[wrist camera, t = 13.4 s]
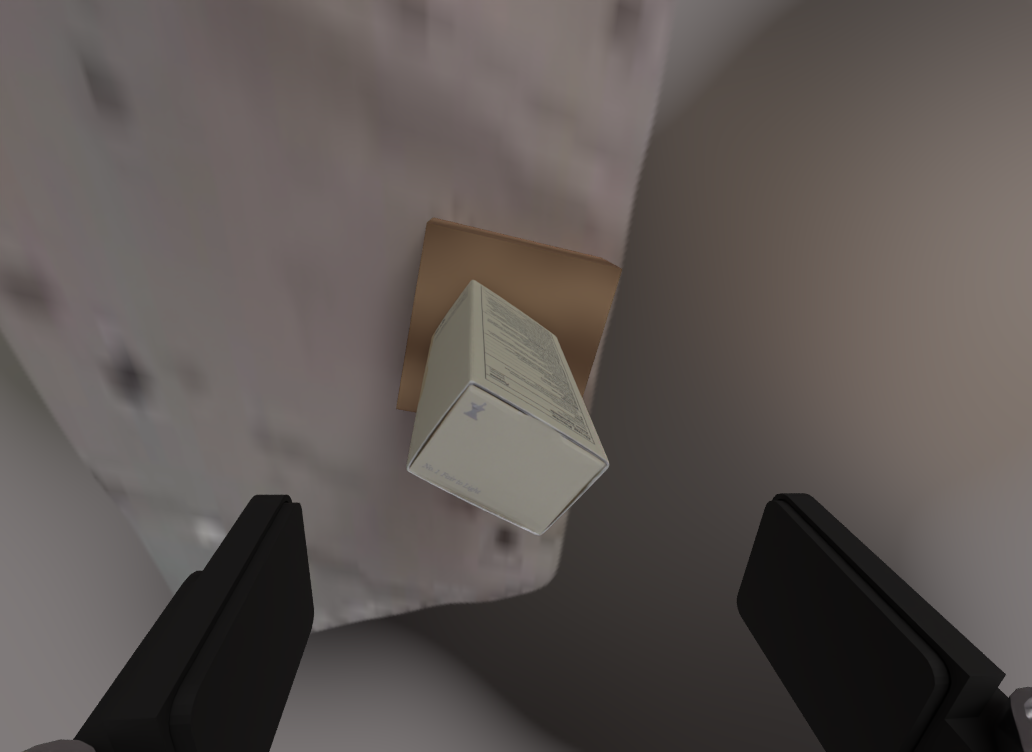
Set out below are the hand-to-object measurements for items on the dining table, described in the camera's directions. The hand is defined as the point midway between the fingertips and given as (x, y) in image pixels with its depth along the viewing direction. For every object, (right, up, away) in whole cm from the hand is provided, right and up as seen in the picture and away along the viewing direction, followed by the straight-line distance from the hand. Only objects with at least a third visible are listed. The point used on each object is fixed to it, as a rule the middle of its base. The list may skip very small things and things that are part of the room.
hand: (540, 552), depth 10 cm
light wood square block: (-2, +7, +23) cm, 24 cm away
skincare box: (-2, +6, +18) cm, 19 cm away
